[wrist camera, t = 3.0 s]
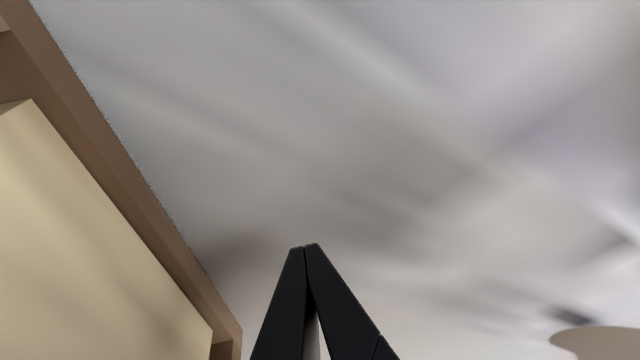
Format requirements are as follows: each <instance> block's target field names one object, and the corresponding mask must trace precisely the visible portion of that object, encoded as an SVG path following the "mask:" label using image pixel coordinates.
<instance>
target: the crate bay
mask: <svg viewBox="0 0 640 360" xmlns="http://www.w3.org/2000/svg"><path fill="white" fill-rule="evenodd" d="M30 98H31V99H32V100H33V101H34V103H35V104H36V105H37V107H38V108H39V109H40V110H41V112H42V113H43V114H44V116H45V117H46V118H47V119H48V121H49V122H50V123H51V124H52V126H53V127H54V128H55V130H56V131H57V132H58V133H59V135H60V136H61V137H62V139H63V140H64V141H65V142H66V144H67V145H68V146H69V148H70V149H71V150H72V151H73V153H74V154H75V155H76V156H77V158H78V159H79V160H80V162H81V163H82V164H83V165H84V167H85V168H86V169H87V171H88V172H89V173H90V174H91V176H92V177H93V178H94V180H95V181H96V182H97V183H98V185H99V186H100V187H101V188H102V190H103V191H104V192H105V194H106V195H107V196H108V197H109V199H110V200H111V201H112V203H113V204H114V205H115V206H116V208H117V209H118V210H119V212H120V213H121V214H122V215H123V217H124V218H125V219H126V221H127V222H128V223H129V224H130V226H131V227H132V228H133V229H134V231H135V232H136V233H137V235H138V236H139V237H140V238H141V240H142V241H143V242H144V244H145V245H146V246H147V247H148V249H149V250H150V251H151V253H152V254H153V255H154V256H155V258H156V259H157V260H158V261H159V263H160V264H161V265H162V267H163V268H164V269H165V270H166V272H167V273H168V274H169V276H170V277H171V278H172V279H173V281H174V282H175V283H176V285H177V286H178V287H179V288H180V290H181V291H182V292H183V293H184V295H185V296H186V297H187V299H188V300H189V301H190V302H191V304H192V305H193V306H194V308H195V309H196V310H197V311H198V313H199V314H200V315H201V317H202V318H203V319H204V320H205V322H206V323H207V324H208V325H209V327H210V328H211V329H212V331H213V333H212V340H211V347H210V354H209V360H241V345H242V329H241V327H240V326H239V324H238V323H237V321H236V320H235V318H234V317H233V315H232V314H231V312H230V311H229V309H228V307H227V306H226V304H225V303H224V301H223V300H222V298H221V297H220V295H219V294H218V292H217V291H216V289H215V287H214V286H213V284H212V283H211V281H210V280H209V278H208V277H207V275H206V274H205V272H204V271H203V269H202V267H201V266H200V264H199V263H198V261H197V260H196V258H195V257H194V255H193V254H192V252H191V251H190V249H189V247H188V246H187V244H186V243H185V241H184V240H183V238H182V237H181V235H180V234H179V232H178V231H177V229H176V227H175V226H174V224H173V223H172V221H171V220H170V218H169V217H168V215H167V214H166V212H165V211H164V209H163V207H162V206H161V204H160V203H159V201H158V200H157V198H156V197H155V195H154V194H153V192H152V190H151V189H150V187H149V186H148V184H147V183H146V181H145V180H144V178H143V177H142V175H141V174H140V172H139V170H138V169H137V167H136V166H135V164H134V163H133V161H132V160H131V158H130V157H129V155H128V154H127V152H126V150H125V149H124V147H123V146H122V144H121V143H120V141H119V140H118V138H117V137H116V135H115V134H114V132H113V130H112V129H111V127H110V126H109V124H108V123H107V121H106V120H105V118H104V117H103V115H102V114H101V112H100V110H99V109H98V107H97V106H96V104H95V103H94V101H93V100H92V98H91V97H90V95H89V94H88V92H87V90H86V89H85V87H84V86H83V84H82V83H81V81H80V80H79V78H78V77H77V75H76V74H75V72H74V70H73V69H72V67H71V66H70V64H69V63H68V61H67V60H66V58H65V57H64V55H63V53H62V52H61V50H60V49H59V47H58V46H57V44H56V43H55V41H54V40H53V38H52V37H51V35H50V33H49V32H48V30H47V29H46V27H45V26H44V24H43V23H42V21H41V20H40V18H39V17H38V15H37V13H36V12H35V10H34V9H33V7H32V6H31V4H30V3H29V1H28V0H0V104H5V103H10V102H15V101H20V100H25V99H30Z"/></svg>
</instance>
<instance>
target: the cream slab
mask: <svg viewBox="0 0 640 360" xmlns="http://www.w3.org/2000/svg"><path fill="white" fill-rule="evenodd" d="M212 333H213V331H212V329H211V328H210V327H209V325H208V324H207V323H206V322H205V320H204V319H203V318H202V317H201V315H200V314H199V313H198V311H197V310H196V309H195V308H194V306H193V305H192V304H191V302H190V301H189V300H188V299H187V297H186V296H185V295H184V293H183V292H182V291H181V290H180V288H179V287H178V286H177V285H176V283H175V282H174V281H173V279H172V278H171V277H170V276H169V274H168V273H167V272H166V270H165V269H164V268H163V267H162V265H161V264H160V263H159V261H158V260H157V259H156V258H155V256H154V255H153V254H152V253H151V251H150V250H149V249H148V247H147V246H146V245H145V244H144V242H143V241H142V240H141V238H140V237H139V236H138V235H137V233H136V232H135V231H134V229H133V228H132V227H131V226H130V224H129V223H128V222H127V221H126V219H125V218H124V217H123V215H122V214H121V213H120V212H119V210H118V209H117V208H116V206H115V205H114V204H113V203H112V201H111V200H110V199H109V197H108V196H107V195H106V194H105V192H104V191H103V190H102V188H101V187H100V186H99V185H98V183H97V182H96V181H95V180H94V178H93V177H92V176H91V174H90V173H89V172H88V171H87V169H86V168H85V167H84V165H83V164H82V163H81V162H80V160H79V159H78V158H77V156H76V155H75V154H74V153H73V151H72V150H71V149H70V148H69V146H68V145H67V144H66V142H65V141H64V140H63V139H62V137H61V136H60V135H59V133H58V132H57V131H56V130H55V128H54V127H53V126H52V124H51V123H50V122H49V121H48V119H47V118H46V117H45V116H44V114H43V113H42V112H41V110H40V109H39V108H38V107H37V105H36V104H35V103H34V101H33V100H32V99H31V98H30V99H25V100H20V101H15V102H10V103H5V104H0V360H209V354H210V347H211V340H212Z"/></svg>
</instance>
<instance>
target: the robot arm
mask: <svg viewBox="0 0 640 360" xmlns="http://www.w3.org/2000/svg"><path fill="white" fill-rule="evenodd" d="M317 314H318V315H317ZM318 318H319V321H320V324H321V328H322V331H323V334H324V338H325V341H326V344H327V348H328V351H329V355H330V358H331V360H400V359H399V357H398V356H397V355H396V353H395V352H394V351H393V349H392V348H391V347H390V345H389V344H388V343H387V341H386V340H385V338H384V337H383V336H382V335H380V331H379V330H378V329H377V327H376V326H375V324H374V323H373V321H372V320H371V319H370V317H369V316H368V314H367V313H366V312H365V310H364V309H363V307H362V306H361V304H360V303H359V302H358V300H357V299H356V297H355V296H354V295H353V293H352V292H351V290H350V289H349V287H348V286H347V285H346V283H345V282H344V280H343V279H342V277H341V276H340V275H339V273H338V272H337V270H336V269H335V268H334V266H333V265H332V263H331V262H330V260H329V259H328V258H327V256H326V255H325V253H324V252H323V250H322V249H321V248H320V246H319V245H318V244H317V243H313V244H308V245H305V246H304V247H303V246H299V247H294V248H291V249H290V251H289V253H288V256H287V259H286V262H285V264H284V267H283V270H282V272H281V275H280V278H279V281H278V283H277V286H276V289H275V292H274V294H273V297H272V300H271V302H270V305H269V308H268V311H267V313H266V316H265V319H264V322H263V324H262V327H261V330H260V332H259V335H258V338H257V341H256V343H255V346H254V349H253V352H252V354H251V357H250V360H320V345H319V327H318Z"/></svg>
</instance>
